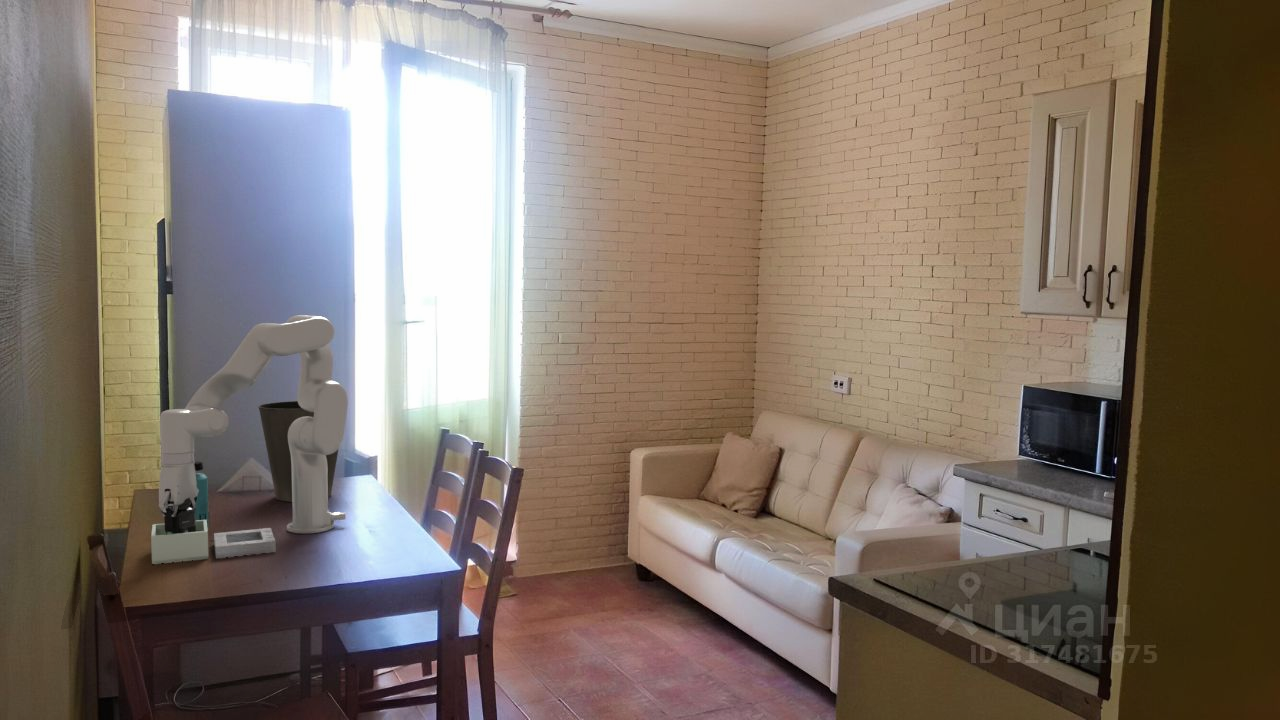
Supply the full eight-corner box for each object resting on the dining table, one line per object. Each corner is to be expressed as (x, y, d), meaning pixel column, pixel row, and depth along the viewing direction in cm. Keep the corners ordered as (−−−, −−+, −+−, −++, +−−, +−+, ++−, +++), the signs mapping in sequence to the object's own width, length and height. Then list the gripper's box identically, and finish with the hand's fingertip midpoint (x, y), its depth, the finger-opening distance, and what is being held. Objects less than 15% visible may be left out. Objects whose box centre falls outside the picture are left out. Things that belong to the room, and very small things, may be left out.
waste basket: (338, 486, 322) (337, 398, 319) (356, 498, 305) (354, 405, 302) (254, 494, 307) (252, 402, 305) (267, 508, 290) (265, 410, 288)
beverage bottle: (199, 537, 257) (197, 464, 255) (178, 536, 258) (176, 463, 256) (215, 531, 263) (213, 460, 261) (194, 530, 264) (192, 459, 263)
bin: (207, 545, 249) (206, 519, 249) (208, 558, 238) (207, 531, 237) (153, 551, 244) (152, 524, 243) (152, 564, 233) (151, 536, 232)
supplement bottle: (169, 550, 236) (166, 503, 235) (164, 543, 242) (162, 497, 240) (198, 545, 240) (196, 499, 239) (194, 538, 246) (191, 493, 244)
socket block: (270, 538, 257) (270, 527, 257) (275, 552, 244) (275, 541, 244) (214, 544, 251) (214, 533, 250) (216, 558, 238) (215, 547, 238)
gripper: (182, 451, 248) (185, 518, 249) (143, 465, 231) (145, 536, 232) (210, 452, 247) (212, 519, 249) (172, 465, 230) (175, 537, 232)
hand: (180, 527), depth 240 cm, fingers open, 7 cm apart
